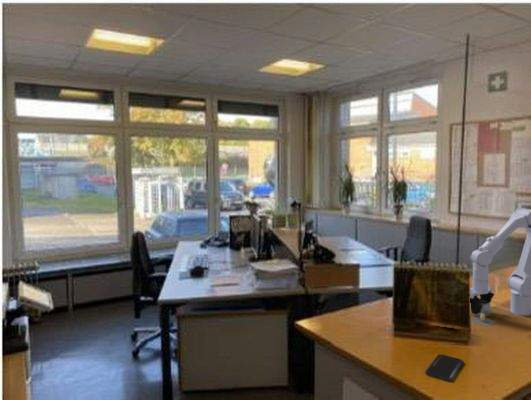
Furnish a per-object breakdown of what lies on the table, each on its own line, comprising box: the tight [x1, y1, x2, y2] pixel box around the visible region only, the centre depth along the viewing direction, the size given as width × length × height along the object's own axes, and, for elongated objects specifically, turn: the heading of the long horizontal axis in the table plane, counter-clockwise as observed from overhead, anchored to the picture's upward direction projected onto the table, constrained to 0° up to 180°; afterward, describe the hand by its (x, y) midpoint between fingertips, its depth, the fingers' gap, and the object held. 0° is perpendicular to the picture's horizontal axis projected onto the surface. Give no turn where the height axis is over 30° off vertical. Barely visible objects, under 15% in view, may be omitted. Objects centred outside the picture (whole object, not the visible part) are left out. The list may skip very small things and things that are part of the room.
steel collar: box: [470, 300, 491, 317], centre depth 169 cm, size 5×5×5 cm
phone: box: [424, 353, 465, 383], centre depth 128 cm, size 8×1×15 cm
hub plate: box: [470, 313, 496, 327], centre depth 161 cm, size 7×7×4 cm
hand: (479, 311), depth 169 cm, fingers open, 7 cm apart
